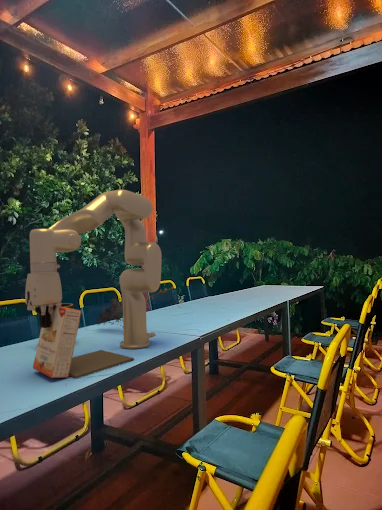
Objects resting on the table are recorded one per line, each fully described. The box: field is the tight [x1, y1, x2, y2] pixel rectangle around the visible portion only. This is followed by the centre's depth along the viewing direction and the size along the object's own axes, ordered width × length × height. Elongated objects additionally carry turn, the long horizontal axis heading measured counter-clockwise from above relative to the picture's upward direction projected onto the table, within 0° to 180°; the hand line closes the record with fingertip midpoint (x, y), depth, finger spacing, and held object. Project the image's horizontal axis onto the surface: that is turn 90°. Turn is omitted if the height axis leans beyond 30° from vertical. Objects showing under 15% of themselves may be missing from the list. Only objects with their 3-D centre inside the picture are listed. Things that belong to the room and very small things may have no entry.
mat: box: [68, 349, 135, 379], centre depth 124 cm, size 23×19×1 cm
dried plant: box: [93, 286, 176, 327], centre depth 173 cm, size 30×31×45 cm
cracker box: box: [32, 306, 82, 379], centre depth 114 cm, size 14×6×21 cm, turn 45°
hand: (45, 327), depth 112 cm, fingers closed
